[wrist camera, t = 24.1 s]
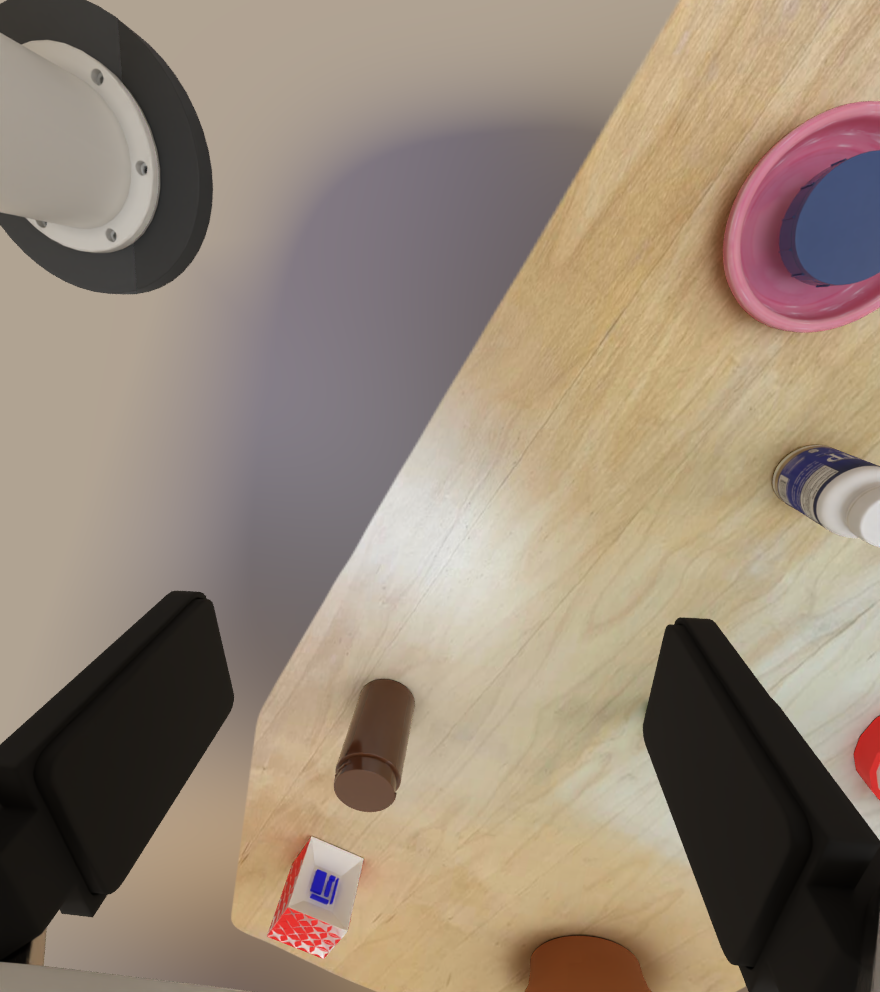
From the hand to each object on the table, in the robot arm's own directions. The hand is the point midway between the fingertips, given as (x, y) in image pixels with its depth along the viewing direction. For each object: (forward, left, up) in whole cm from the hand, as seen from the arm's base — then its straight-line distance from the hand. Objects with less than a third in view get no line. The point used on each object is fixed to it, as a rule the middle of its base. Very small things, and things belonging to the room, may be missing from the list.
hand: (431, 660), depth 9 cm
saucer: (+20, +16, -30) cm, 39 cm away
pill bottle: (+28, 0, -30) cm, 41 cm away
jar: (-2, -34, -30) cm, 46 cm away
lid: (+20, +16, -26) cm, 36 cm away
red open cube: (-6, -66, -30) cm, 73 cm away
